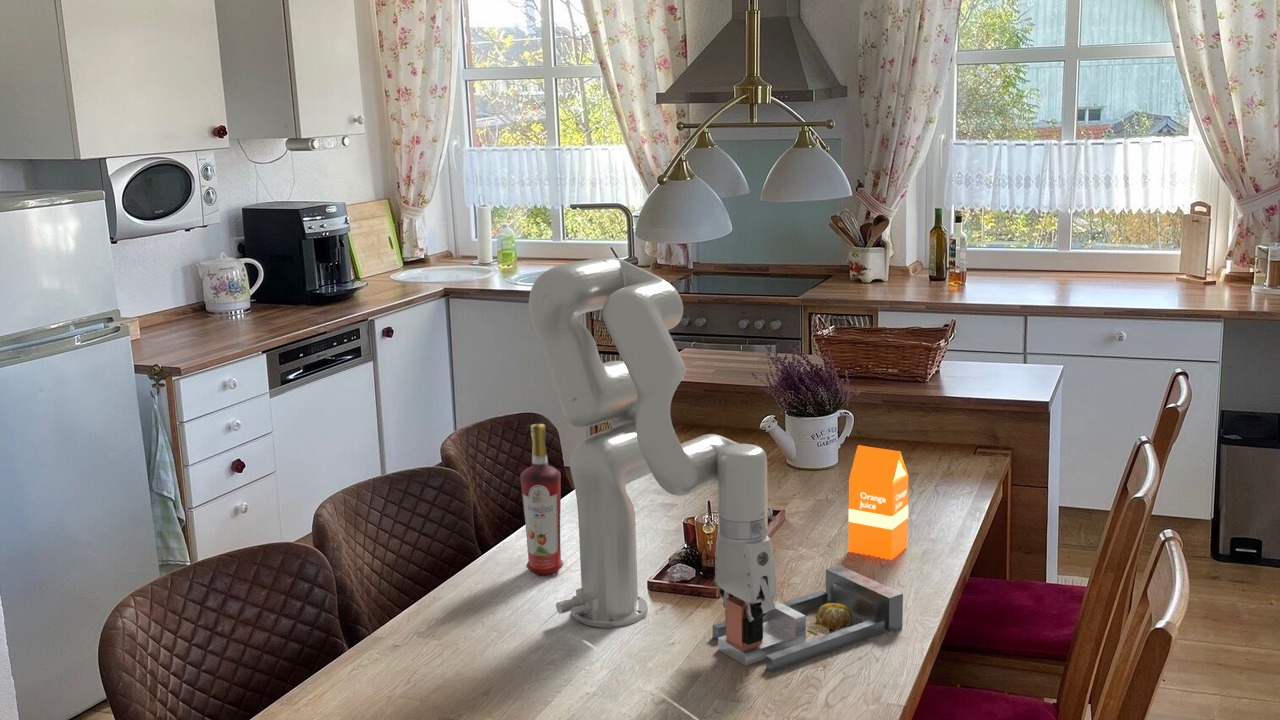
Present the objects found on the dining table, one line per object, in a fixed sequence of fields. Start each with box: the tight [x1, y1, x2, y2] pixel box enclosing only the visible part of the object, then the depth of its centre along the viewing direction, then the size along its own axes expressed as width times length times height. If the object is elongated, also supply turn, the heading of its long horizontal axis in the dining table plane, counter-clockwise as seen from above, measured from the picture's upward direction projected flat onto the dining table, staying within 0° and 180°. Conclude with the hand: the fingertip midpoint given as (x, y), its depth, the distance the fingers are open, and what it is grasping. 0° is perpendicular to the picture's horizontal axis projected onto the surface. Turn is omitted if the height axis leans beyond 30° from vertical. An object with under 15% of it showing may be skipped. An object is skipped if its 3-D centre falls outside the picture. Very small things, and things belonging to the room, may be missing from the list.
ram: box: [717, 596, 807, 667], centre depth 194 cm, size 12×7×9 cm, turn 123°
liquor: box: [519, 423, 564, 577], centre depth 226 cm, size 7×7×28 cm
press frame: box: [712, 564, 904, 673], centre depth 199 cm, size 27×15×6 cm, turn 123°
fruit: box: [807, 602, 853, 636], centre depth 202 cm, size 8×8×4 cm
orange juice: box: [848, 444, 909, 561], centre depth 232 cm, size 8×9×20 cm
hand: (744, 635), depth 192 cm, fingers closed on ram, 4 cm apart
